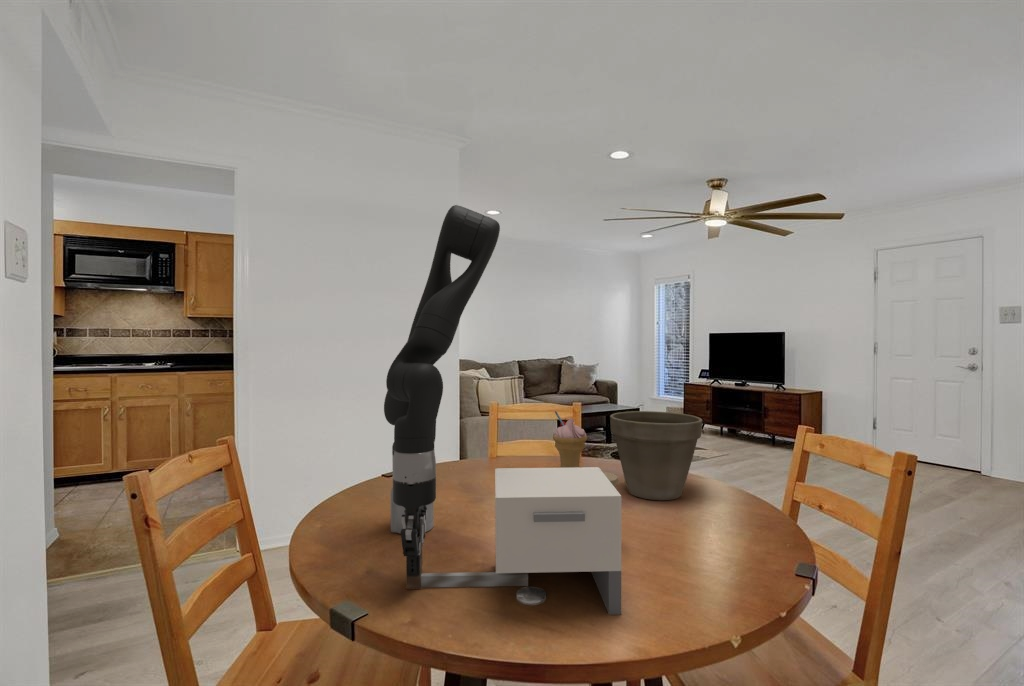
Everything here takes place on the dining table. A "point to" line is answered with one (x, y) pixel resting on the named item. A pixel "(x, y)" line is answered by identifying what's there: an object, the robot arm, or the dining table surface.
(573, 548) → the cabinet
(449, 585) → the blade tool
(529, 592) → the ball
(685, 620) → the dining table surface
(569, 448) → the ice cream cone
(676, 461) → the plant pot
